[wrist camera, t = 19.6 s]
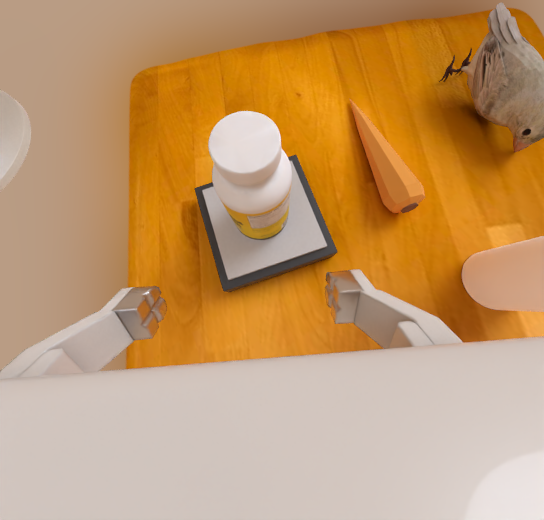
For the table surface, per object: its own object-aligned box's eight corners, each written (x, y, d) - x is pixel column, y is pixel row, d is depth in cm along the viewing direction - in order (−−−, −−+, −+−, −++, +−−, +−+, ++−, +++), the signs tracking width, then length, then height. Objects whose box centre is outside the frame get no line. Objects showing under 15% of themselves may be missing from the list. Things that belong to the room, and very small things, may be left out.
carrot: (405, 218, 27) (440, 196, 23) (381, 219, 25) (415, 196, 21) (351, 115, 33) (371, 83, 29) (329, 110, 31) (347, 77, 27)
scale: (229, 292, 25) (222, 291, 22) (201, 197, 28) (192, 185, 25) (332, 256, 26) (339, 250, 23) (294, 166, 28) (296, 151, 26)
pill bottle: (237, 191, 25) (199, 98, 13) (289, 192, 24) (296, 97, 13) (232, 241, 23) (187, 185, 12) (287, 243, 23) (294, 186, 12)
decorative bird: (499, 162, 27) (580, 110, 20) (431, 80, 30) (478, 9, 23) (532, 147, 27) (625, 90, 20) (461, 67, 31) (517, -7, 23)
